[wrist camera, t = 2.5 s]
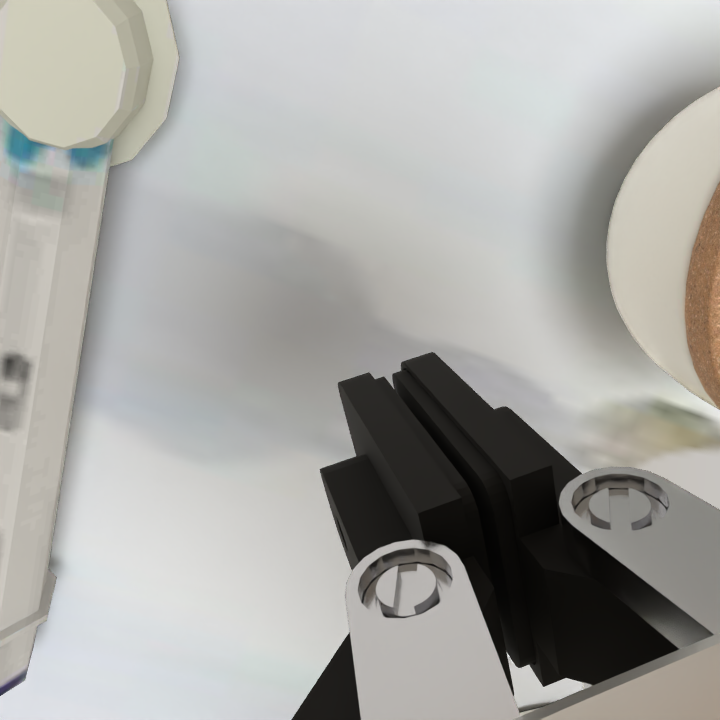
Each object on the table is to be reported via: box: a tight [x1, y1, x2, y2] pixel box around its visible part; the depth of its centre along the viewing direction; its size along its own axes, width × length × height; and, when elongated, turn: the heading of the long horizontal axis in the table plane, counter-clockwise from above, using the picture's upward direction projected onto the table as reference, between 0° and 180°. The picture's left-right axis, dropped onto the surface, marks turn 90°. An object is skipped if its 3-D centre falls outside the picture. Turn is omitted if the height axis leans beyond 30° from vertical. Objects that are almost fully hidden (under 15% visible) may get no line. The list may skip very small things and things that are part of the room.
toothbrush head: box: [0, 0, 179, 696], centre depth 22 cm, size 5×7×25 cm
